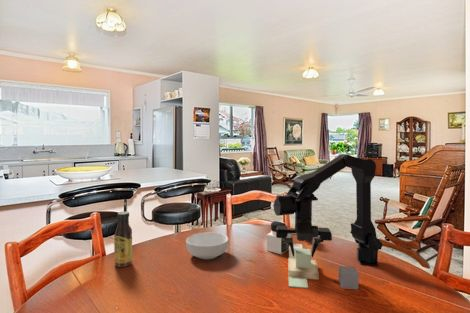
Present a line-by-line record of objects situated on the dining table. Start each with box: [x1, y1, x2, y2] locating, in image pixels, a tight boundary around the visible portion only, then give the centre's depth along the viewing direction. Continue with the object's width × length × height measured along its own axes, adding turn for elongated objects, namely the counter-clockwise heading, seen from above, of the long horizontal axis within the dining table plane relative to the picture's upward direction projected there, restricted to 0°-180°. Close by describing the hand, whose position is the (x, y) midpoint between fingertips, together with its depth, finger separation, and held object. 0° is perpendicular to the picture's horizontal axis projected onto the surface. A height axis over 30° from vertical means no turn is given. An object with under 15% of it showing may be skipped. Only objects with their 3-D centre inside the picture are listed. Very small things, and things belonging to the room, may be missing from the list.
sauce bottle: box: [113, 211, 133, 268], centre depth 109 cm, size 6×6×20 cm
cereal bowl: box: [185, 231, 229, 261], centre depth 117 cm, size 17×17×7 cm
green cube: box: [295, 247, 312, 269], centre depth 103 cm, size 5×5×5 cm
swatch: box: [287, 276, 309, 289], centre depth 95 cm, size 6×6×1 cm
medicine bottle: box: [266, 220, 289, 255], centre depth 122 cm, size 7×7×12 cm
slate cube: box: [338, 265, 360, 290], centre depth 94 cm, size 5×5×5 cm
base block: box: [287, 257, 320, 281], centre depth 103 cm, size 10×10×3 cm
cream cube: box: [288, 243, 303, 259], centre depth 114 cm, size 5×5×5 cm
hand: (302, 256), depth 103 cm, fingers open, 6 cm apart
